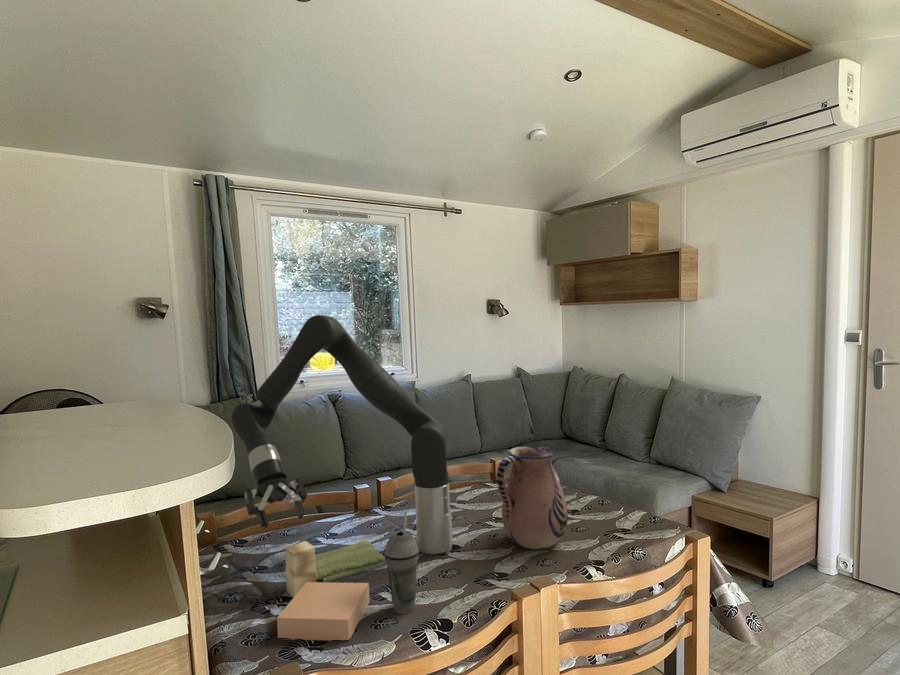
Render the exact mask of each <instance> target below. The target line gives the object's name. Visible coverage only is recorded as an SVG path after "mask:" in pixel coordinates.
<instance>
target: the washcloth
mask: <svg viewBox="0 0 900 675" xmlns="http://www.w3.org/2000/svg"><path fill="white" fill-rule="evenodd" d="M315 564H316V580H322V581H323V582H328V583H330V582H332V581H336V580H338V579H342V578H345V577H349V576H352V575H355V574H359V573H361V572H366V571H369V570H372V569H375V568H379V567H382V566H383V565H384V564H386V558H385V555H383V554H382V553H381V552H380V551H378V549H377V550H376V548H375V546H374V545H373V543H372V542H370V541H368V540H362V541H360V542H358V543H355V544H351V545H346V546H343V547H339V548H337V549H336V548H335V549H334V550H329V551H326V552H325V551H324V552H322V553H317V554H315Z"/></svg>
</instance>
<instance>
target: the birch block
mask: <svg viewBox="0 0 900 675" xmlns="http://www.w3.org/2000/svg"><path fill="white" fill-rule="evenodd" d="M284 549H285V550H284V554H285V575H286V576H285V577H286V578H285V579H286V580H285V581H286V592H287V593H288V594H290V596H291V597H292V599H293V598H294V597H295V596H296V594H297V593H298V592H299V591H300V590H301V588H302V587H303V586H304V585H305V583H306V582H317V579H316V564H315V555H316V547H315V546H314V545H312V544H311V543H310V542H308V541H307V540H303V541H301V542H298V543H295V544H290V545H287V546H285V547H284Z"/></svg>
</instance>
